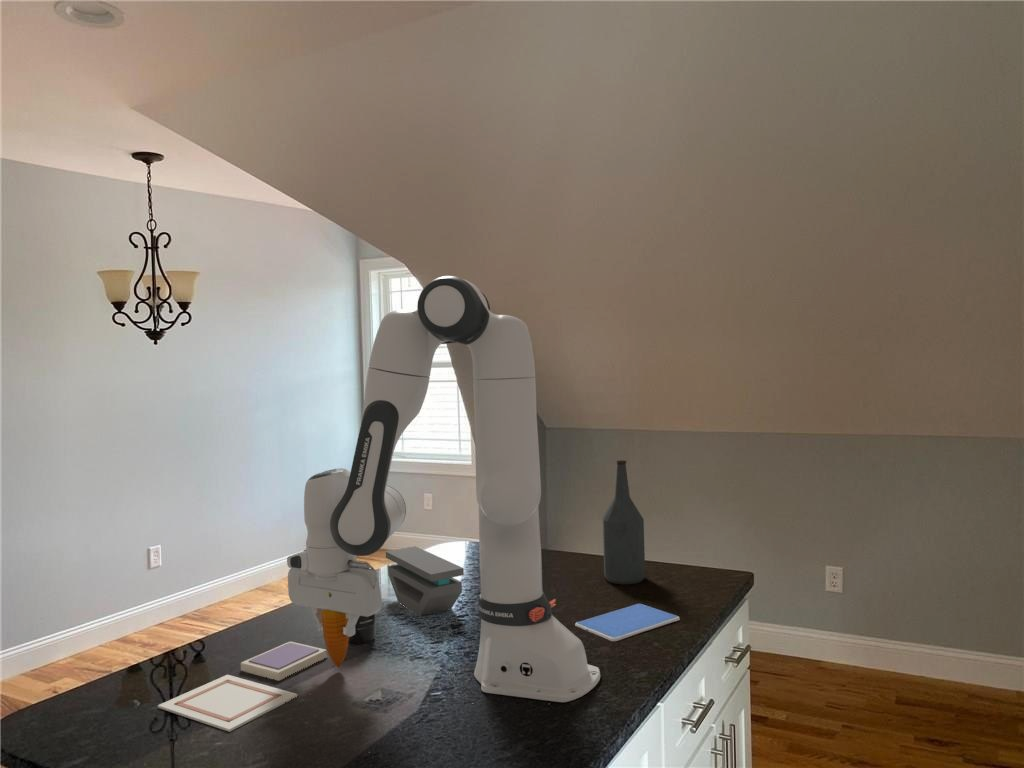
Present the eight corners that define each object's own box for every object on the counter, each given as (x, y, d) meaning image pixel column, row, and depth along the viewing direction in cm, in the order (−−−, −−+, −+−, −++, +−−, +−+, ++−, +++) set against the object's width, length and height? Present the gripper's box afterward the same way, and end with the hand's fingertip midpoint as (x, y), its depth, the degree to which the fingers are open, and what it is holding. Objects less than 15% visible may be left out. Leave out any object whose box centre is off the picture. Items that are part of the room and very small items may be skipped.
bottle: (647, 584, 189) (644, 462, 188) (607, 585, 189) (603, 463, 188) (641, 572, 199) (637, 456, 198) (602, 573, 199) (599, 457, 198)
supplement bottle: (368, 646, 154) (365, 586, 153) (336, 645, 155) (333, 585, 155) (380, 634, 160) (378, 577, 160) (350, 633, 162) (347, 576, 161)
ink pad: (327, 657, 149) (326, 648, 149) (278, 680, 138) (278, 671, 138) (290, 648, 154) (290, 640, 154) (241, 670, 144) (240, 661, 143)
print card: (297, 696, 132) (297, 693, 132) (229, 731, 120) (229, 728, 120) (227, 676, 141) (227, 673, 141) (157, 707, 129) (157, 704, 129)
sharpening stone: (465, 617, 169) (463, 568, 169) (432, 624, 165) (431, 574, 165) (417, 590, 191) (415, 546, 190) (387, 596, 186) (385, 551, 186)
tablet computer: (613, 644, 152) (613, 638, 152) (572, 627, 162) (572, 621, 162) (681, 622, 163) (681, 616, 163) (639, 608, 173) (639, 602, 173)
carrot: (338, 674, 139) (333, 591, 138) (318, 669, 141) (313, 588, 141) (358, 664, 143) (353, 584, 142) (338, 660, 145) (333, 581, 145)
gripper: (387, 559, 139) (391, 635, 139) (305, 549, 149) (310, 620, 150) (362, 568, 133) (367, 647, 134) (280, 557, 144) (284, 630, 144)
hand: (336, 632), depth 142 cm, fingers closed on carrot, 5 cm apart
